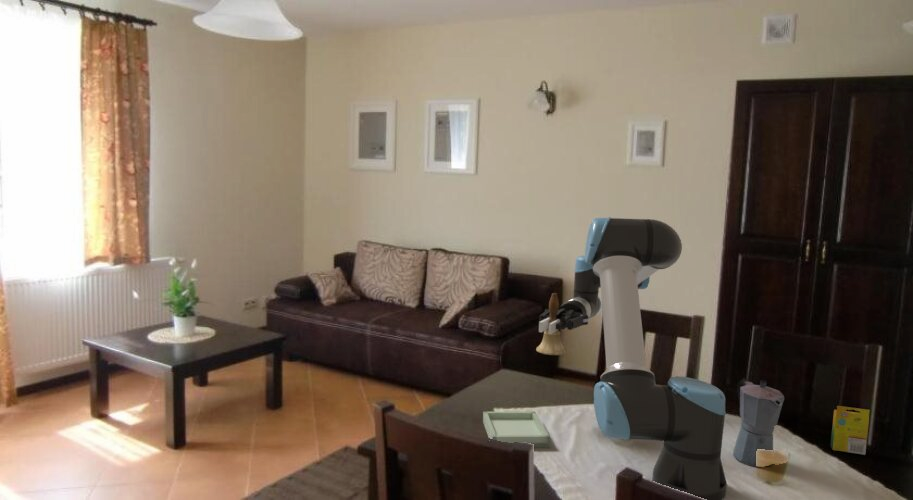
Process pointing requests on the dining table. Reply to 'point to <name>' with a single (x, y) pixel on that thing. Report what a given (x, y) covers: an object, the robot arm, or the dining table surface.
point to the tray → (516, 428)
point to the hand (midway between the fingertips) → (545, 328)
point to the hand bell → (552, 341)
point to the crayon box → (850, 430)
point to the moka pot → (756, 419)
